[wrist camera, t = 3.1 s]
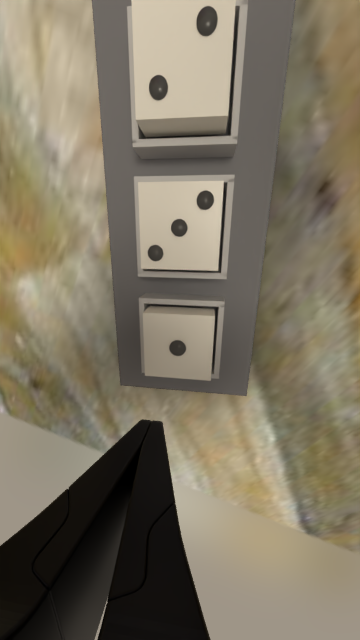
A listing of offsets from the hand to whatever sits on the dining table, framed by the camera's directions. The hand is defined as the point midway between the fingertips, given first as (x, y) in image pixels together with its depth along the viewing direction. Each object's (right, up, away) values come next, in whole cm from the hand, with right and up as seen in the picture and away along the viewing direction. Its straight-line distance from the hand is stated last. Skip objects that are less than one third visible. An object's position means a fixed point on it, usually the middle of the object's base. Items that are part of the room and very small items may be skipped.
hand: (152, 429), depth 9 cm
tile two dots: (+1, +18, +4) cm, 19 cm away
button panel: (+2, +11, +10) cm, 15 cm away
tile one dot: (+1, +3, +9) cm, 10 cm away
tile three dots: (+1, +11, +7) cm, 13 cm away
